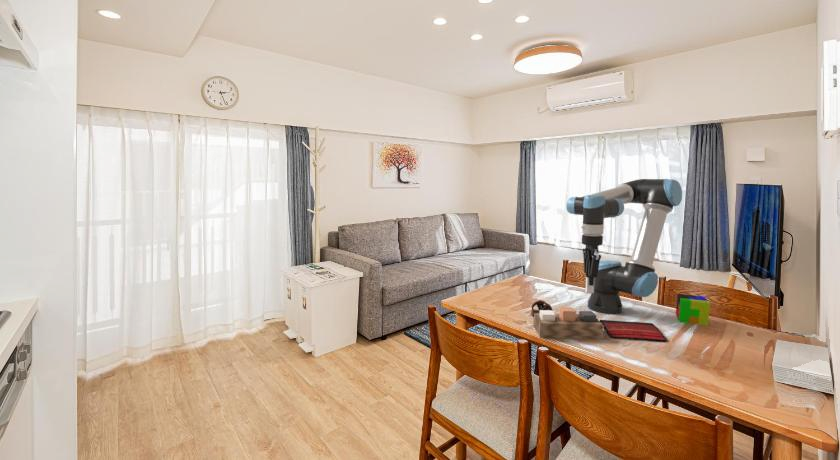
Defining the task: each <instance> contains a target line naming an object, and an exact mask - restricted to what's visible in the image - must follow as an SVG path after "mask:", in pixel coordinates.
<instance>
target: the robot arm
mask: <svg viewBox="0 0 840 460" xmlns="http://www.w3.org/2000/svg"><path fill="white" fill-rule="evenodd" d="M682 189H683V188H682V186H681V183H680V182H679V180H676V179H671V178H661V179H660V178H641V179H640V178H639V179H635V180H630V181H627V182H624V183H620V184H618V185H617V186H616V187H614V188H610V189H606V190H603V191H599V192H596V193H592V194H587V195H585V196H584V195H583V196H572V197H569V198H568V199H567V202H566V203H565V205H566V207H565V209H566V211H567V212H568V213H569V214H572V215H575V216H577V215H579V216H583V217H582V225H581V230H582V231H581V232H582V235H581V244H582V245H585V248H582V253H583V254H582V255H583V273H584V274H585V293H587V294H590V296H589V298H588V299H587V308H588V309H589V310H590V311H593V312H597V313H602V314H610V315H612V314H613V315H614V314H620V313H622V312H623V303H622V299H621V296H620V292H621V293H625V294H629V295H633V296H634V297H641V298H648V297H649V296H651V295H652V294H653V293H654V292H655V291H656V289H657V287H658V284H659V276H658V274H657V273H656V272H655V271H656V269H655V267H654V266H653V264H654V261H655V257H656V253H657V249H658V246H659V243H660V240H661V236H662V233H663V230H664V226H665V222H666V219H667V215H668V214H669V213H671V212H672V211H673V209H674V207H678V206H679V205H680V204H681V203H682V200H683V190H682ZM626 204H640V205H642V207H643V208H644V210H645V211H644V214H643V217H642V220H641V223H640V227H639V230H638V234H637V237H636V240H635V244H634V246H633V247H634V248H633V251H632V254H631V259H629V260H627V261H626V262H625V265H622V262H621V261H618V260H601V258H602V255H601V254H600V253H599V252H600V251H599V246H602V245H603V244H604V243H603V242H604V236H603V234H604V229H605V228H604V226H605V225H604V222H605V219H609V218H616V217H619V216H621V215H622V214H623V213H624V211H625V205H626Z"/></svg>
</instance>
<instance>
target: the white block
mask: <svg viewBox="0 0 840 460" xmlns="http://www.w3.org/2000/svg"><path fill="white" fill-rule="evenodd" d="M554 313H555V312H554V311H553V309H552V310H540V313H539V318H540V319H541V321H555V314H556V313H555V314H554Z"/></svg>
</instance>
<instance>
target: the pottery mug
mask: <svg viewBox="0 0 840 460" xmlns="http://www.w3.org/2000/svg"><path fill="white" fill-rule="evenodd" d="M535 306H536V307H537V308H538V309H534V308H535ZM540 310H552V311H553V307H552V306H551V305H550V304H549V303H548V302H546V300H543V299H539V300H537V301H534V302H533V303H532V304H531V311H530V312H531V313H530V314H531V317H534V313H540Z"/></svg>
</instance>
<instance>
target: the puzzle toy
mask: <svg viewBox="0 0 840 460" xmlns="http://www.w3.org/2000/svg"><path fill="white" fill-rule="evenodd" d="M675 307H676V309H675V316H676V318H677V321H679V323H682V324H683V323H684V324H692V325H697V324H698V326H706V327H708V326H709V319H710V318H709V317H710V309H711V308H710V307H711V303H710V301H709V300H708V299H707V298H706V296H702V295H695V294H694V295H693V294H683V293H677V298H676V305H675Z"/></svg>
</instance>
